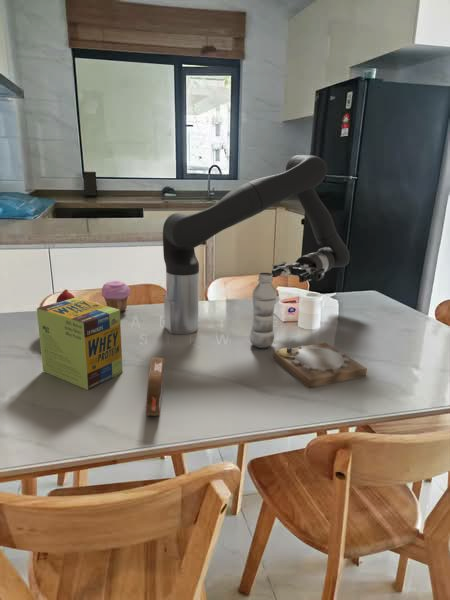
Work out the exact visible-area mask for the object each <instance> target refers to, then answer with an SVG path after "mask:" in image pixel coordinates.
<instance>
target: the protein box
mask: <svg viewBox="0 0 450 600" xmlns="http://www.w3.org/2000/svg"><path fill="white" fill-rule="evenodd" d="M93 302H94V301H89V300H85V299H81V298H78V297H75V298H72V299H69V300H65V301H61V302H58V303H56V302H55V303H52V304H47V305H43V306H40V307H37V308H36V315H37V324H38V334H39V345H40V352H41V353H40V354H41V365H42V371H43V372H44V373H47V374H49V375H51V376H54V377H56V378H58V379H61V380H63V381H65V382H68V383H70V384H72V385H75V386H77V387H80V388H81V389H84V390H87V391H89V390H91V389H93V388H95V387H96V386H99V385H101V384H102V383H105V382H106V381H108V380H111V379H112V378H114V377H116V376H119V375H120V374H122V373H123V372H124V371H123V354H122V351H123V350H122V331H121V329H122V327H121V312H120V310H119V309H116V308H112V307H108V306H107V305H104V304H102V305H101V303H99V304H97V303H98V302H96V303H93Z"/></svg>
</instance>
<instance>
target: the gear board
mask: <svg viewBox="0 0 450 600" xmlns="http://www.w3.org/2000/svg"><path fill="white" fill-rule="evenodd" d="M272 352H273V353H272V354H273V355H272V359H273V360H274V361H275V362H277V364H279V365H280V366H281V367H283V368H284V369H285V370H286V371H287V372H289V373H290V374H291V375H292V376H294V377H295V378H296V379H298V380H299V381H300V382H301V383H303V384H304V386H306V387H307V388H308V389H311V388H315V387H321V386H326V385H330V384H334V383H339V382H345V381H348V380H349V381H350V380H353V379H358V378H363V377H367V373H368V368H367V367H365V366H364V365H362V364H360V363H359V362H357V360H355V359H353V358H351V357H350V356H349V355H347V354H345V353H344V352H343V351H340V350H338V349H336V348H335V347H334V346H332V345H331V344H328V343H327V342H323V343H316V344H310V345H309V344H308V345H300V346H298V347H291V346H290V347H289V346H288V347H282V348H280V349H279V350H273V351H272Z"/></svg>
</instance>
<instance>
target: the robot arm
mask: <svg viewBox="0 0 450 600" xmlns="http://www.w3.org/2000/svg"><path fill="white" fill-rule="evenodd" d="M327 172H328V167H327V163H326V162H325V160H323V159H322V158H321V157H319V156H317V155H310V154H309V155H307V154H297V155H294V156H292V157H291V158H290V159H289V160H288V161H287V163H286V166H285V171H283V172H281V173H278V174H273V175H268V176H264V177H261V178H260V177H259V178H256V179H253V180H249V181H246V182H245V183H243V184H241V185H240V186H236V187H235V188H233V189H231V190H229V192H228V193H226V194H225V195H224V196H222V198H221V199H219V200H218V201H217V202H216V203H215V204H214V205H212V206H209V207H208V208H206V209H202V210H200V211H198V212H195V213H192V214H187V213H184V212H183V213H182V212H174V213H172V214H170V215H169V216H167V218H166V219H165V221H164V223H163V226H162V227H163V228H162V248H163V249H162V251H163V260H164V264H165V271H166V272H165V281H166V282H165V283H166V284H165V285H166V286H165V289H166V291H165V292H166V293H165V295H164V297H163V299H164V304H163V307H164V312H163V313H164V319H163V320H164V328H165V329H166V331H167V332H168V333H169V334H172V335H173V334H178V335H187V334H193V333H196V332H197V331H198V330H199V301H200V300H199V299H200V298H199V297H200V295H199V293H200V291H199V289H200V288H199V285H200V283H199V282H200V262H199V260H198V259H197V256H196V252H195V248H197V247H199V246H200V245H202V244H203V243H205V242H207V241H208V240H210V239H211V238H213V237H214V236H216V235H218V234H219V233H221V232H222V231H224V230H226V229H229V228H231V227H233V226H235V225H237V224H239V223H241V222H243V221H246V220H248V219H251V218H253V217H255V216H256V215H258V214H261V213H262V212H264V211H265V210H268V209H269V208H271V207H273V206H276V205H277V204H279V203H281V202H283V201H285V200H287V199H289V198H291V197H293V196H295V195H296V197H297V199H298V200H299V202H300V204H301V206H302V208H303V210H304V212H305V215H306V217H307V219H308V221H309V224H310V227H311V230H312V232H313V235H314V239H315V241H316V243H317V244H318V245H319V246H322V247H321V248H319V249H318V250H317V251H316V252H311V253H307V254H304V255H302V256H300V257H298V259H296V261H295V262H293V263H287V262H285V261H282V262H280V263H279V262H278V263H275V264H273V269H272V270H271V274H273V278H277V277H281V276H285V277H298V282H299V283H305V282H311V281H312V280H313V282H318V281H320V280H322V279H324V278H325V273H326V272H329V271H330V270H331V269H332V268H344V267H347V265H348V264H349V263H350V260H351V255H350V250H349V249H348V247H347V245H346V244H345V243H344V241H343V240H342V238H341V237H340V235H339V233H338V232H337V229H336V226H335V223H334V220H333V217H332V215H331V213H330V211H329V210H328V208H327V207H326V206H325V204H324V203H323V202H322V200H321V199H320V197H319V195H318V193H317V192H316V191H317V190H316V189H315V188H316V187H318V186H319V185H320V184H322V183H323V181H324V180H325V178H326V176H327V174H328V173H327Z"/></svg>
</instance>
